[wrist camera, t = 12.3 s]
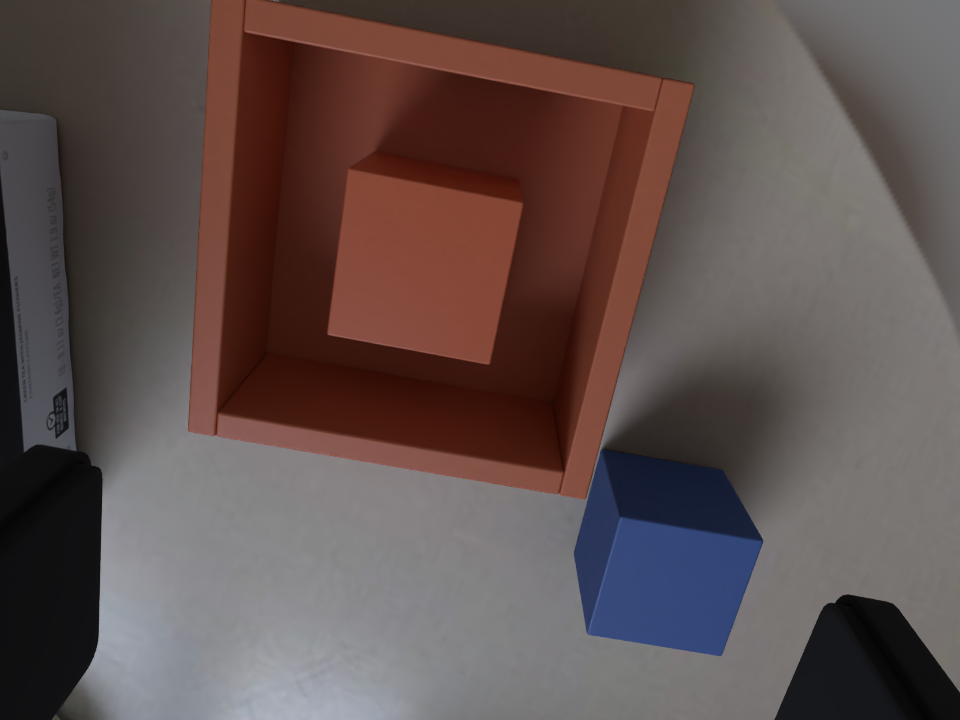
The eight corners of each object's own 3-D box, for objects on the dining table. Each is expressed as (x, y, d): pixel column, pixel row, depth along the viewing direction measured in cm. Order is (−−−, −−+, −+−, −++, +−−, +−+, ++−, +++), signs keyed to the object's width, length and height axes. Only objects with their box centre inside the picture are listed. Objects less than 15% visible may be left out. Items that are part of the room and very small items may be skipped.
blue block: (723, 469, 28) (765, 540, 24) (689, 572, 30) (722, 657, 26) (601, 448, 28) (620, 516, 24) (573, 553, 30) (586, 635, 25)
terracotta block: (519, 179, 24) (524, 202, 20) (491, 316, 26) (490, 365, 21) (374, 150, 24) (347, 167, 20) (355, 291, 26) (326, 335, 21)
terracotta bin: (651, 81, 24) (696, 83, 18) (569, 419, 28) (586, 500, 22) (275, 7, 23) (210, -12, 18) (246, 363, 27) (187, 432, 22)
